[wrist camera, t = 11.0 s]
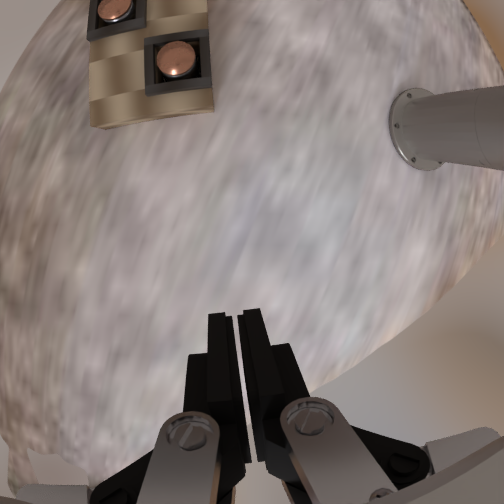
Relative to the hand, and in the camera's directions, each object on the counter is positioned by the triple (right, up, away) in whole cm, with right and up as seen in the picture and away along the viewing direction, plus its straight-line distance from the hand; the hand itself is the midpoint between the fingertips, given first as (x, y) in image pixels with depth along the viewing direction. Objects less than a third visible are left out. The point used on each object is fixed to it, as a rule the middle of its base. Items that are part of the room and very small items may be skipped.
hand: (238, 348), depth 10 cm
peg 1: (-16, +33, +18) cm, 41 cm away
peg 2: (-8, +25, +22) cm, 34 cm away
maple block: (-12, +29, +20) cm, 37 cm away
